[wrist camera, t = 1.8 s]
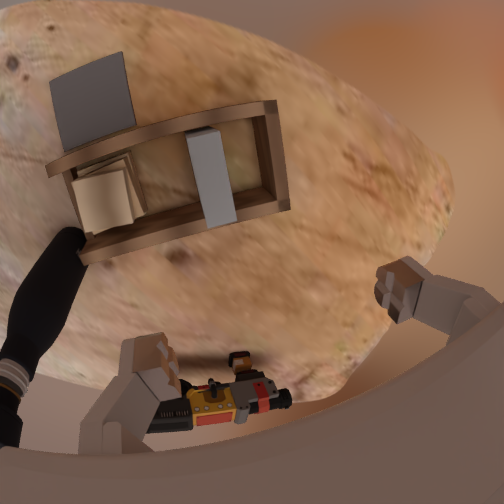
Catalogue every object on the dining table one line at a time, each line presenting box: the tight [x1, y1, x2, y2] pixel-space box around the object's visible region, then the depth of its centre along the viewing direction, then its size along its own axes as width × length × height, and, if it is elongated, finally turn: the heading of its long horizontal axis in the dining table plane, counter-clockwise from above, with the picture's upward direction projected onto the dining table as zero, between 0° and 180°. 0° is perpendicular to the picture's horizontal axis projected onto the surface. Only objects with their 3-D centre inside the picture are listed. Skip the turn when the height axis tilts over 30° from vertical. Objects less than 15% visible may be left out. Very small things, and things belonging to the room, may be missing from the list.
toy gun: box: [146, 351, 292, 434], centre depth 44 cm, size 6×28×15 cm, turn 82°
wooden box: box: [45, 100, 291, 266], centre depth 31 cm, size 26×13×6 cm, turn 99°
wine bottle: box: [0, 227, 88, 449], centre depth 21 cm, size 6×6×30 cm
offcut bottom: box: [77, 151, 148, 214], centre depth 32 cm, size 7×8×2 cm
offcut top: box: [73, 167, 135, 233], centre depth 27 cm, size 6×6×2 cm
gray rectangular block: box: [185, 126, 237, 228], centre depth 30 cm, size 3×9×10 cm, turn 9°
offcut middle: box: [71, 156, 146, 235], centre depth 29 cm, size 7×7×2 cm
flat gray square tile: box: [49, 51, 137, 152], centre depth 26 cm, size 10×10×1 cm
